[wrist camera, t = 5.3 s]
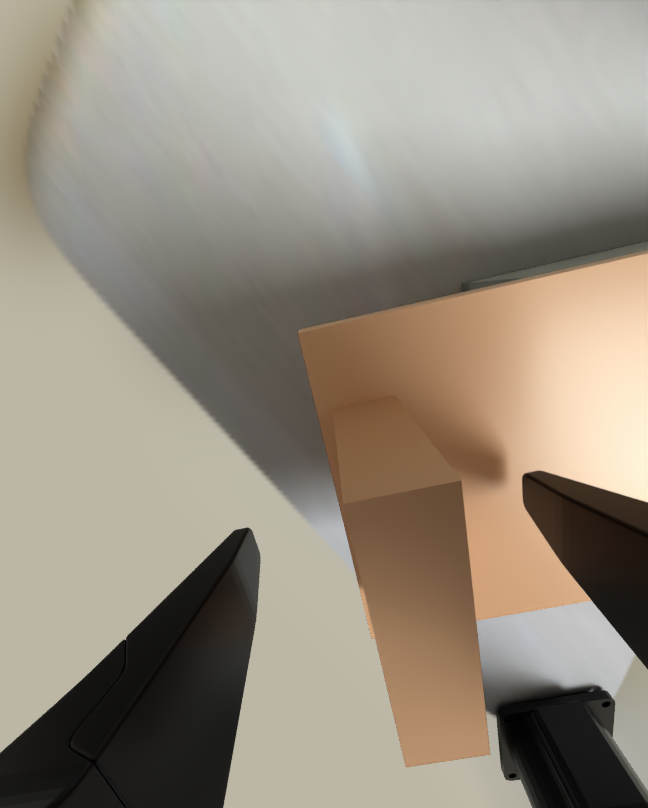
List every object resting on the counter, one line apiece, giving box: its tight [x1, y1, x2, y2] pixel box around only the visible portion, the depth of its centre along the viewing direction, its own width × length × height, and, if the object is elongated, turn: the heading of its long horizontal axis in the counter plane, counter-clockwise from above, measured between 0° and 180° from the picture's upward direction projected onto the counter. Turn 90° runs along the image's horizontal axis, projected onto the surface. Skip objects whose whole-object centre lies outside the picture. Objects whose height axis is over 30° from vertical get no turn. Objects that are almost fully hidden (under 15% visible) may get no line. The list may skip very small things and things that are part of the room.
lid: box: [298, 250, 648, 767], centre depth 7 cm, size 10×10×5 cm
